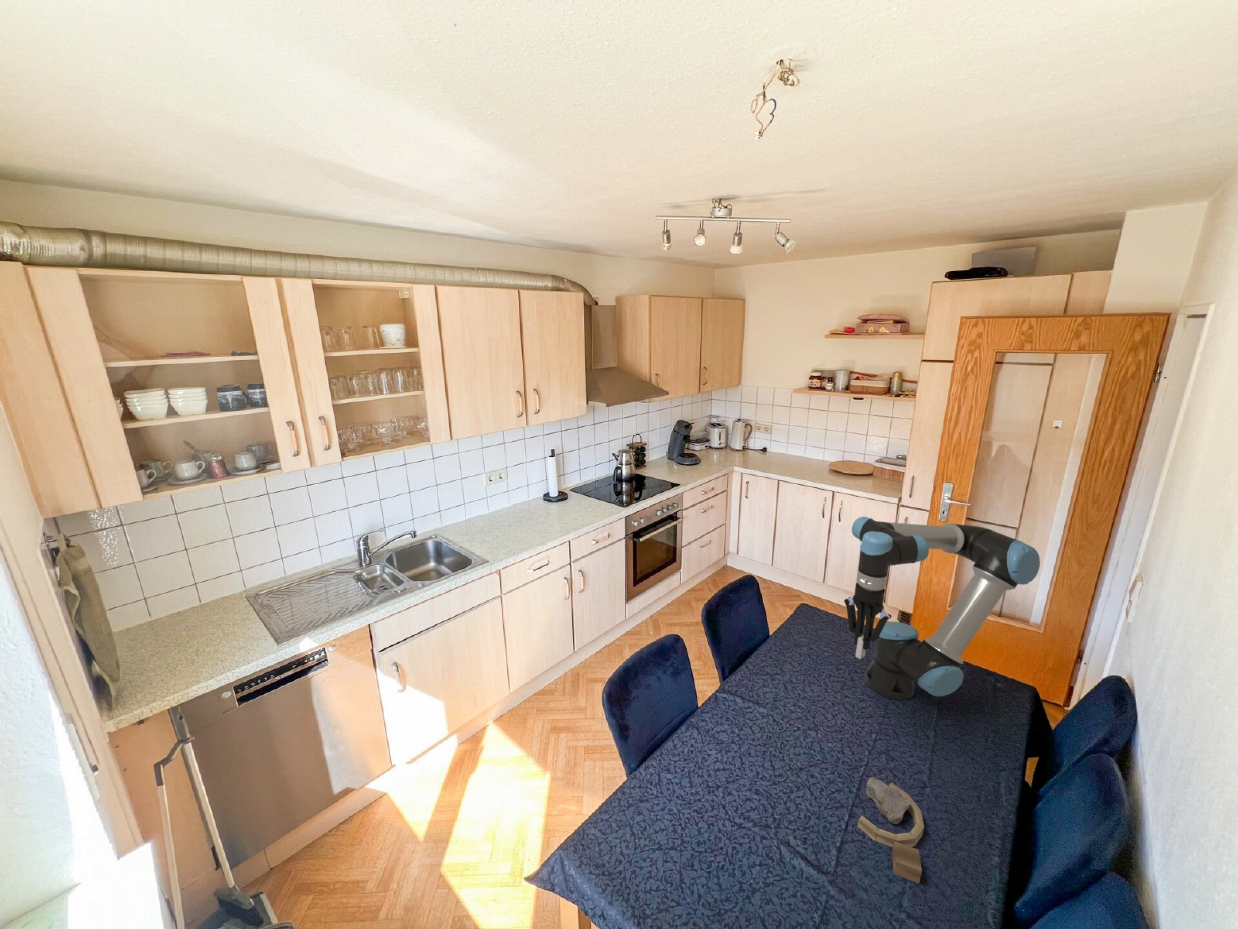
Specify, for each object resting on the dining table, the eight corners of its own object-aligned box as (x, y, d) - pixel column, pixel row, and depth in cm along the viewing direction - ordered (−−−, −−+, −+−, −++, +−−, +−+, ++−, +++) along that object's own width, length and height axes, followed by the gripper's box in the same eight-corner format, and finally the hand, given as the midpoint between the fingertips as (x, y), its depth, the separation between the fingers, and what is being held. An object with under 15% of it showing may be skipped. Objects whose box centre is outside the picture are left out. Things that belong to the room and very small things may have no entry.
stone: (897, 832, 121) (900, 813, 119) (857, 803, 128) (860, 785, 127) (911, 812, 126) (914, 794, 124) (872, 786, 133) (874, 768, 132)
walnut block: (891, 854, 116) (894, 841, 115) (915, 862, 114) (918, 850, 113) (893, 874, 111) (896, 861, 110) (918, 884, 109) (921, 871, 108)
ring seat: (890, 790, 132) (891, 782, 131) (933, 820, 123) (935, 813, 123) (857, 826, 122) (858, 819, 121) (902, 862, 114) (903, 854, 113)
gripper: (841, 580, 142) (832, 650, 148) (887, 599, 132) (875, 673, 138) (855, 572, 146) (845, 640, 152) (900, 590, 136) (888, 662, 142)
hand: (860, 656), depth 145 cm, fingers closed
